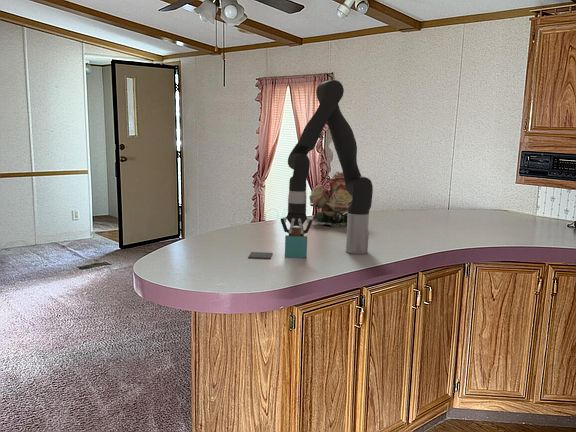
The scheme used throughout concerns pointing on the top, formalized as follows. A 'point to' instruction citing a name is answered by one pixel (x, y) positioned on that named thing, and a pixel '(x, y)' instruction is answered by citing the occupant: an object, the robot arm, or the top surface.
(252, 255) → the mat
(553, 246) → the top surface
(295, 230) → the block
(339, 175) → the rose bouquet
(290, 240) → the tile
